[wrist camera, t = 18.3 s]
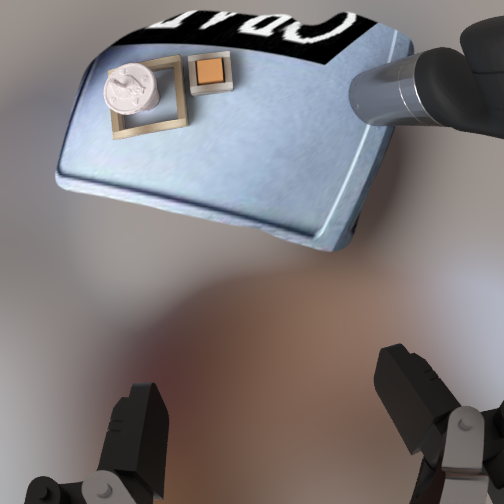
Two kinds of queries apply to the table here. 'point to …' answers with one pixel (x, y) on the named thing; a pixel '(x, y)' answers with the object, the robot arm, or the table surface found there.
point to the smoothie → (131, 89)
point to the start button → (210, 71)
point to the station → (177, 91)
